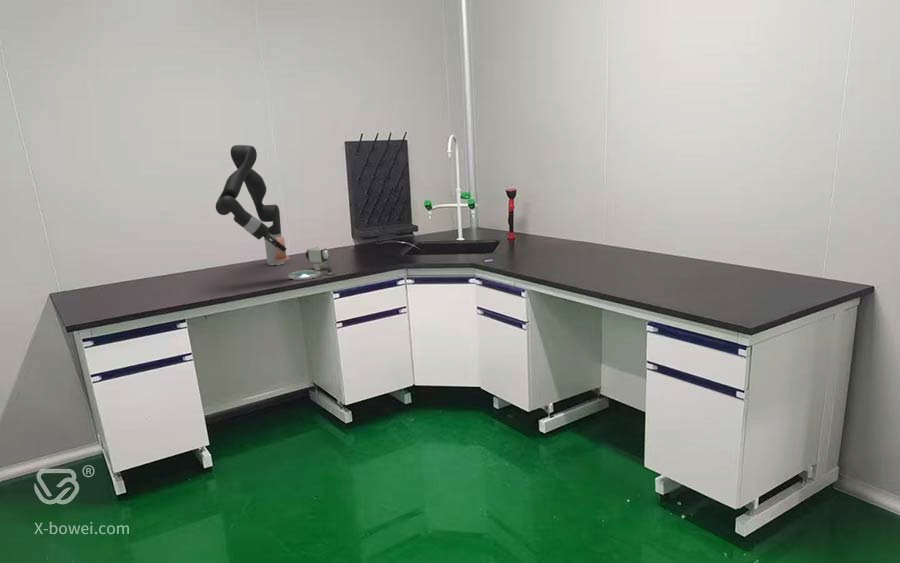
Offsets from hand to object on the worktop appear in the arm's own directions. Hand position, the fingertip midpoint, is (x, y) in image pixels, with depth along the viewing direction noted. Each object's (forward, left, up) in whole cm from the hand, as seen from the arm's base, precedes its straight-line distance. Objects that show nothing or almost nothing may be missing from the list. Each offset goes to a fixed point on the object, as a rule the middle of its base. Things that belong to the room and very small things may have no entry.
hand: (284, 249), depth 280 cm
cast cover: (-1, -2, -5) cm, 6 cm away
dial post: (+6, +20, -16) cm, 26 cm away
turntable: (0, +9, -16) cm, 18 cm away
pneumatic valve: (-9, +22, -16) cm, 29 cm away
